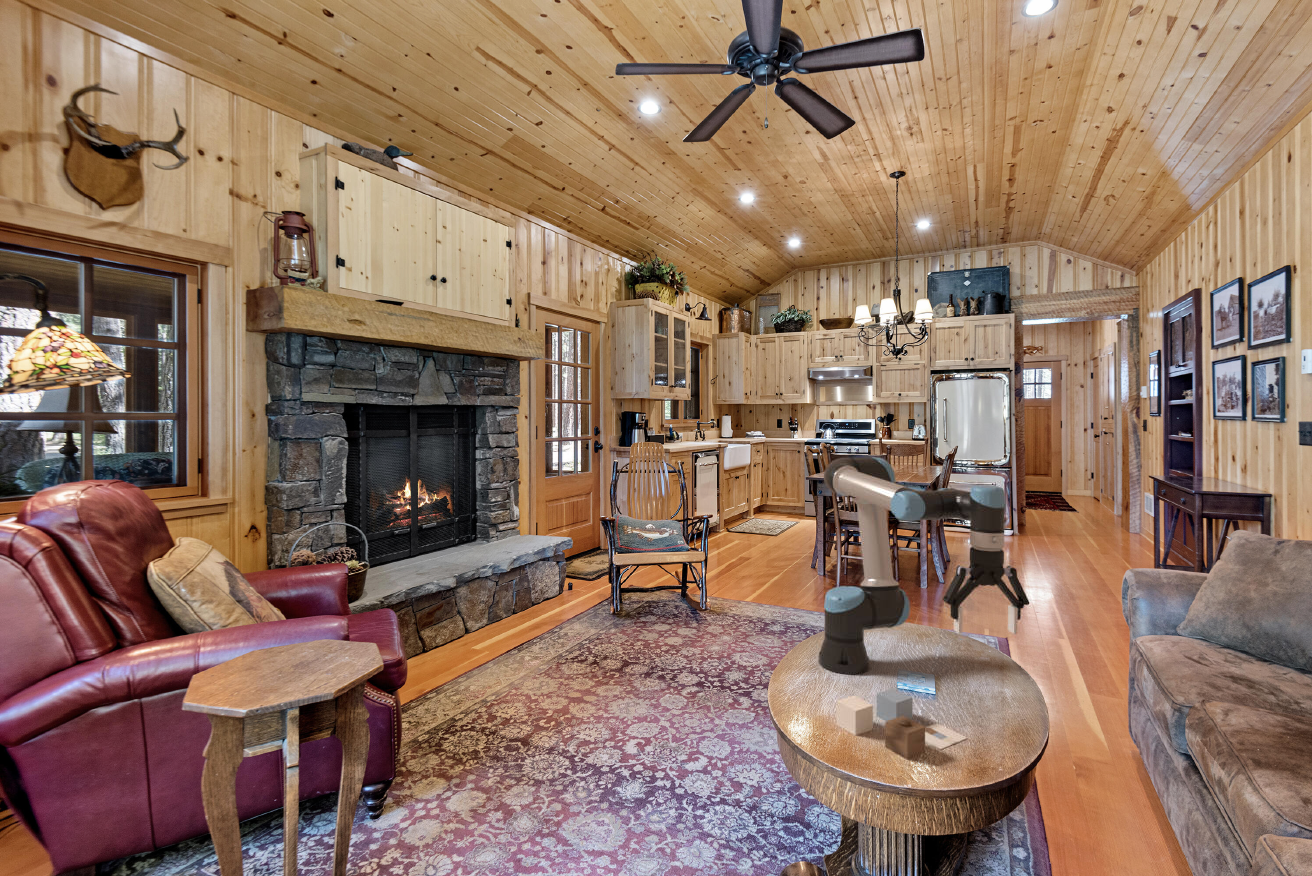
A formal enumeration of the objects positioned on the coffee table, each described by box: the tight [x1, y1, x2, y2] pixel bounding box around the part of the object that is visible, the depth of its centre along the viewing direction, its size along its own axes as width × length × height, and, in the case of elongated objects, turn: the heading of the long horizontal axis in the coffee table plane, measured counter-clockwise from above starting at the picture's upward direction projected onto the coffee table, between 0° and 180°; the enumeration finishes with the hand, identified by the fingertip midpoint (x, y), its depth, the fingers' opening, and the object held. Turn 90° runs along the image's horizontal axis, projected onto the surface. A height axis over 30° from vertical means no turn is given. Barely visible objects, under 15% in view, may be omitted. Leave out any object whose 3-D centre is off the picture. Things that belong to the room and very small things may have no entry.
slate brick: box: [876, 687, 914, 722], centre depth 151 cm, size 6×6×6 cm
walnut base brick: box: [884, 716, 926, 761], centre depth 136 cm, size 6×6×6 cm
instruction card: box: [924, 722, 968, 751], centre depth 142 cm, size 8×10×1 cm
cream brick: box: [836, 695, 874, 736], centre depth 147 cm, size 6×6×6 cm
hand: (985, 632), depth 149 cm, fingers open, 13 cm apart
